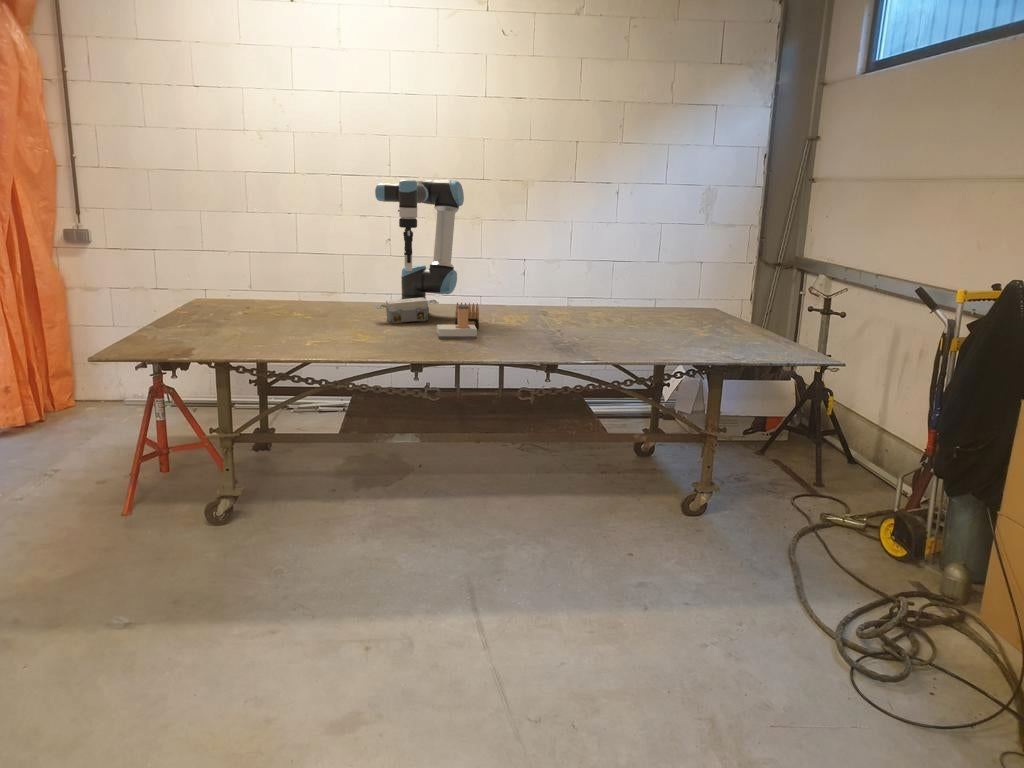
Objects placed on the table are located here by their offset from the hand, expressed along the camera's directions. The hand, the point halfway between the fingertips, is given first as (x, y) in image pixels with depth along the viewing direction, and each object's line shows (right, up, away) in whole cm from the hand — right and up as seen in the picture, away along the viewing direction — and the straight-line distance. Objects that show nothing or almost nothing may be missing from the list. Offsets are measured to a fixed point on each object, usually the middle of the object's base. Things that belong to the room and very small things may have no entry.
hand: (408, 268), depth 320 cm
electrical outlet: (-4, -20, +28) cm, 35 cm away
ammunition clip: (+24, -25, +13) cm, 38 cm away
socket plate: (+21, -29, -2) cm, 36 cm away
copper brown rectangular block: (+23, -28, -2) cm, 36 cm away
